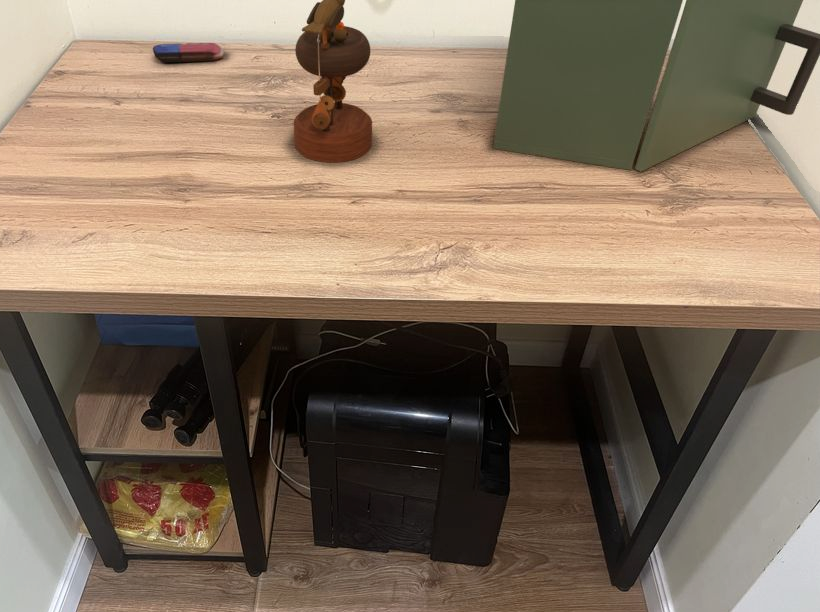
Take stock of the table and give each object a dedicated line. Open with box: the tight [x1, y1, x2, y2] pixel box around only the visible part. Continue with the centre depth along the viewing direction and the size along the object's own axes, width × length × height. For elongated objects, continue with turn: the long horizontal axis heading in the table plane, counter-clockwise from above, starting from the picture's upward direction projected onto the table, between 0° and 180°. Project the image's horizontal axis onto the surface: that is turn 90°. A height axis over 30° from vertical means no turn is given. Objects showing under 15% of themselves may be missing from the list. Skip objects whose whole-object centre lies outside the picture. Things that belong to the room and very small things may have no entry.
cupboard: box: [492, 0, 684, 171], centre depth 95 cm, size 18×26×24 cm
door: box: [634, 0, 820, 173], centre depth 88 cm, size 7×26×24 cm, turn 127°
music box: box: [293, 0, 373, 163], centre depth 91 cm, size 15×11×20 cm
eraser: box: [152, 42, 225, 63], centre depth 117 cm, size 11×4×2 cm, turn 99°
